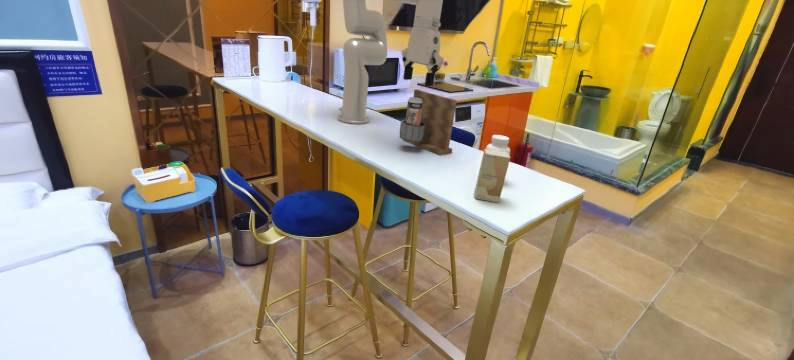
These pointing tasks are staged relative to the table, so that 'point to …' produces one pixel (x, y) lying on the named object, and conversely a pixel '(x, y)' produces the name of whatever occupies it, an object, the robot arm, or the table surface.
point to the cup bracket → (431, 124)
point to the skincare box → (491, 175)
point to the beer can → (414, 111)
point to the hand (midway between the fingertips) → (417, 82)
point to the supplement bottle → (499, 143)
